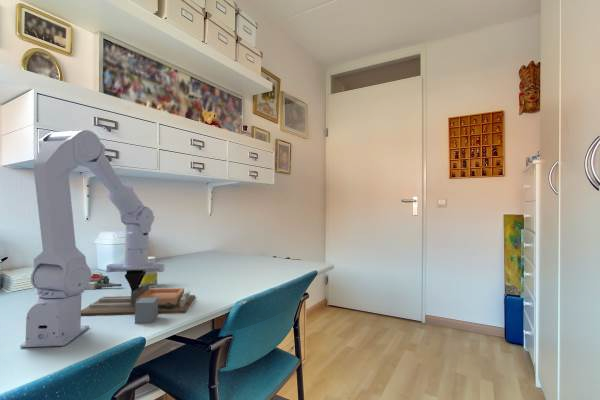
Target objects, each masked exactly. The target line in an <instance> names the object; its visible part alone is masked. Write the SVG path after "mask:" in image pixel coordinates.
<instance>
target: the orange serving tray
mask: <svg viewBox="0 0 600 400" xmlns="http://www.w3.org/2000/svg"><path fill="white" fill-rule="evenodd" d="M184 294H185V288H184V287H180V288H179V287H174V288H173V287H172V288H170V287H169V288H168V287H167V288H165V287H164V288H162V287H161V288H149V283H144V284H143V285H141V286H139V288H137V289H136V290H134V291H133V292H132V293H130V296H131V305H135V303H136V302H137V301H138V300H139V299H141V298H157V297H158V305H163V304H166V305H165V308H166V309H169V308H170V307H171V304H176V303H177V302H178V301H179V299H180V298H181V297H182V295H184Z"/></svg>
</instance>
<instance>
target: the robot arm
mask: <svg viewBox="0 0 600 400" xmlns="http://www.w3.org/2000/svg"><path fill="white" fill-rule="evenodd" d="M38 143H39V151H38V153H37V156H36V157H35V160H34V162H33V174H34V175H33V176H34V185H35V193H36V203H37V210H38V220H39V229H40V238H41V246H42V247H41V248H42V251H41V252H40V253H39V254H38V255H36V257H34V258H33V269H32V272H31V274H30V283H31V286H33V288H34V289H36V290H37V291H36V292H37V293H36V294H37V295H38V299H37V302H36V303H35V304H34V305H33V306H32V307H30V309H29V310H28V311H27V313H26V316H25V317H26V319H25V320H26V321H25V322H26V323H25V341H24V342H23V343H21V344H20V345H19V347H20V348H32V347H33V348H38V347H39V348H42V347H60V346H66V345H67V344H69V343H70V342H71V341H72V340H74V339H75V338H76V337H78V336H79V335H80V334H82V333H84V332H85V331H86V330H87V329H89V327H90V325H89V324H82V325H81V322H82V321H81V320H82V316H81V310H82V295H83V293H85V290H86V289H85V288H86V287H87V286H88V284H89V282H90V280H91V276H92V275H91V273H92V271H91V268H90V267H89V266H88V264H87V259H86V256H85V254H84V253H83V252H82V251H80V250H79V248H78V247H77V245H76V235H75V225H74V217H73V206H72V205H73V204H72V196H71V195H72V194H71V187H70V185H71V184H70V177H69V176H70V174H71V173H72V172H74V170H76V169H77V168H78V167H84V168H87V169H89V170H90V172H91V173H92V174H93V175H94V176H96V178H97V179H98V180H99V181H100V182H101V184H102V185H104V186H105V188H106V189H107V190H108V195H107V196H108V199H109V200H110V201H111V202H112V204H113V205H114V207H115V208H116V209H117V210H118V212H119V214H120V221H121V223H123V225H125V238H124V239H125V244H124V245H125V247H124V248H125V249H124V263H109V264H106V273H112V272H115V273H116V272H118V273H119V272H120V273H122V272H125V274H124V278H125V280H126V281H127V283H128V285H129V287H130V290H131V291H130V292H131V293H132V292H133V291H134V290H136V289H137V288H139V287H140V283H141V281H142V279H143V277H144V275H145V274H146V272H157V273H163V272H164V271H165V263H156V262H155V263H156V264H155V263H148V257H149V240H150V239H149V238H150V237H149V235H150V232H151V231H152V225H153V223H154V221H155V215H154V211H153V210H152V209H151V208H150V207H148V206H145V205H144V204H143V202H142V201H141V200H140V198H139V197H138V195H137V193H136V192H135V191H134V187H133V186H130V185H129V184H126V183H125V184H124V183H123V182H122V180H121V179H120V178H119V176H118V174H117V172H116V171H115V169H114V167H113V166H112V165H111V163H110V161H109V159H108V157H107V156H106V146H105V145H104V144H103V143H102V142H101V140H100V137H99V136H98V135H97V134H96V133H95V132H93V131H91V130H89V129H83V130H82V129H81V130H76V131H52V132H49V133H48V134H46V135H45V136H43V137H42V138H40V139H39V140H38ZM131 293H130V294H131Z"/></svg>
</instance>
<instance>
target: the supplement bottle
mask: <svg viewBox="0 0 600 400" xmlns="http://www.w3.org/2000/svg"><path fill="white" fill-rule="evenodd" d="M148 263H155V264H157V263H156V256H148ZM144 283H149V289H151V288H154V287H156V286H157V285H158V271H157V272H146V274H145V275H144V277H143V279H142V281H141V283H140V286H141V285H143V284H144ZM140 286H139V287H140Z"/></svg>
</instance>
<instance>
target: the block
mask: <svg viewBox="0 0 600 400" xmlns="http://www.w3.org/2000/svg"><path fill="white" fill-rule="evenodd" d="M158 315H159V314H158V297H157V298H141V299H139V300H138V301H137V302H136V303H135V314H134V325H137V324H138V325H140V324H141V325H143V324H154V322H156V320H158Z"/></svg>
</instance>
